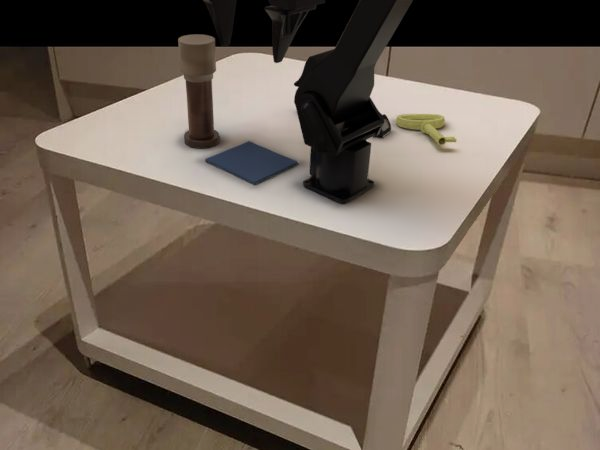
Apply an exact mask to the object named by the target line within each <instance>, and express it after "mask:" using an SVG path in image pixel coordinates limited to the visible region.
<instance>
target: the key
mask: <svg viewBox="0 0 600 450" xmlns="http://www.w3.org/2000/svg"><path fill="white" fill-rule="evenodd" d="M395 122H396V126H398V127H400V128H404V129H408V130H409V129H411V130H420V131H421V132H422V133H423V134H427V135H429V136H430V137H431V138H432V139H433V140H434V142H436V143H437V145H439V146H444V145H446V144H447V143H456V142H457V138H455V136H444V135H443V134H441V132H440V131H439V130H437V129H440V128H442V127H444V126H445V123H446V120H445V116H444V115H442V114H435V113H404V114H399V115H397V116H396V119H395Z"/></svg>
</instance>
